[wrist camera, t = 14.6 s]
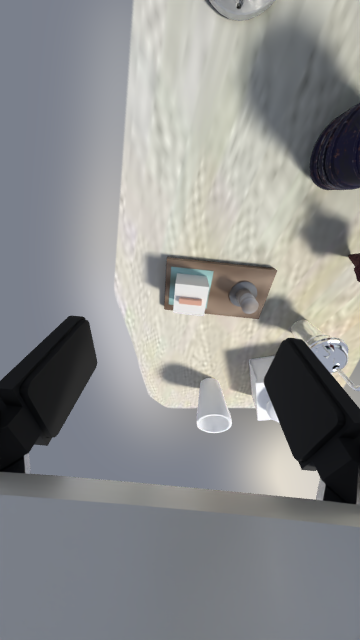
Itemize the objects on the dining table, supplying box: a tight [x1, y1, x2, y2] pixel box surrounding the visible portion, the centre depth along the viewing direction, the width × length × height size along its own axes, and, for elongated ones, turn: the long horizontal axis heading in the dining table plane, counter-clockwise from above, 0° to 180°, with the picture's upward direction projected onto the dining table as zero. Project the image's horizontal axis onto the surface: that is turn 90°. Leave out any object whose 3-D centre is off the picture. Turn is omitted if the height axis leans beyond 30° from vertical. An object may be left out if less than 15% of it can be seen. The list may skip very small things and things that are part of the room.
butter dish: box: [249, 356, 332, 423], centre depth 50 cm, size 18×18×16 cm
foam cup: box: [196, 378, 232, 433], centre depth 55 cm, size 10×9×13 cm
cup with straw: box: [291, 320, 360, 391], centre depth 39 cm, size 8×9×20 cm
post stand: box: [164, 257, 277, 319], centre depth 40 cm, size 12×23×8 cm, turn 85°
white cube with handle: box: [173, 273, 209, 316], centre depth 38 cm, size 6×6×7 cm
